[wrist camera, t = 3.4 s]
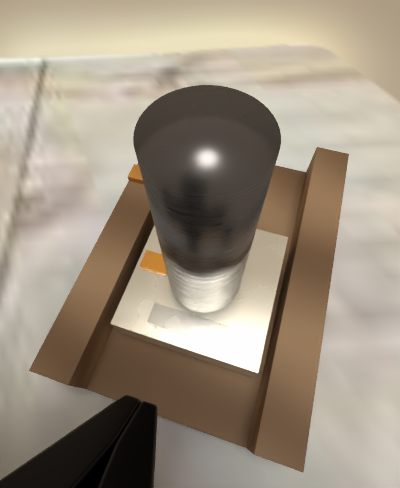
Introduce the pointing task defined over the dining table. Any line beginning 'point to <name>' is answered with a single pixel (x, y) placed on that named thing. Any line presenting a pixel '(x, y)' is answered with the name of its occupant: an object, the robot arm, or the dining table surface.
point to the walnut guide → (195, 370)
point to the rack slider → (206, 228)
